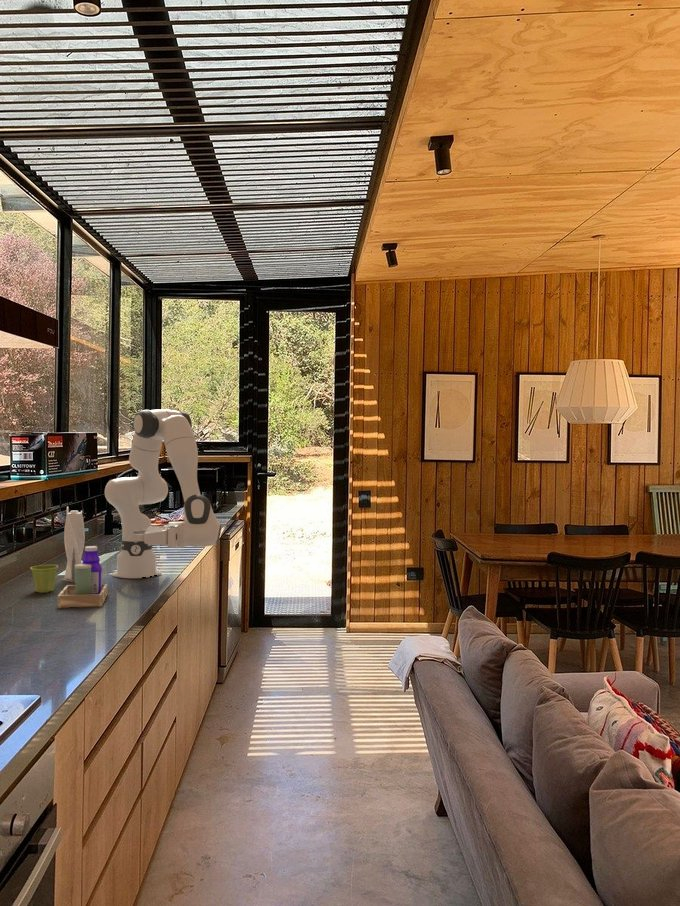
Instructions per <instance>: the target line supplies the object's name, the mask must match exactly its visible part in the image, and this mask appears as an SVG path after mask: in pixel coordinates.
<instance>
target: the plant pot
mask: <svg viewBox="0 0 680 906" xmlns="http://www.w3.org/2000/svg"><path fill="white" fill-rule="evenodd" d="M58 568H59V565H57V564H39V565H34V566H31V567H30V568H29V569H30V570H31V574H32V578H33V583H34V590H35V593H42V594H43V593H49V592H53V591H54V590H55V583H56V577H57V576H56V575H57V571H58Z"/></svg>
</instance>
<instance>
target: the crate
mask: <svg viewBox="0 0 680 906" xmlns="http://www.w3.org/2000/svg"><path fill="white" fill-rule="evenodd" d="M108 587H109V586H108V584H107V583H105V584H103V583H102V591H101V592H100V594H84V595H75V584H67V585H66V584H65V586H64V588H63V589H62V590H61V591H60V592H59V593H58V594H57V609H70V608H69V607H79V608H100V607H101V608H102V607H103V605H104V604H105V602H106V600H107V598H106V597H108V596H107V595H109V592H108V591H109V590H108ZM105 599H106V600H105ZM104 601H105V602H104ZM103 603H104V604H103Z"/></svg>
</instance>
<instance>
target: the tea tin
mask: <svg viewBox="0 0 680 906" xmlns="http://www.w3.org/2000/svg"><path fill="white" fill-rule="evenodd" d="M74 585H75V595H84V594H91V564H78V565H75V582H74Z"/></svg>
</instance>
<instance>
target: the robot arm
mask: <svg viewBox="0 0 680 906" xmlns="http://www.w3.org/2000/svg"><path fill="white" fill-rule="evenodd" d="M132 423H133V424H132V425H133V426H132V427H133V430H134V435H133V437H132V442H131V447H130V451H129V457H128V462H129V464H130V466H131V467H132V468H133V469H134V470H136V471H138V473H137V476H130V477H129V476H125V477H123V476H122V477H117V478H113V479H109V480H108V482H107V483H106V485H105V488H104V497H105V499H106V501H107V502H108V503H109V505H112V506H113V507H114V508H115V510H116V511H117V513H118V514H119V517H120V521H121V533H122V535H121V536H122V539H121V542H120V549H121V551H120V552H119V553H118V554H116V555H117V557H116V571H113V572H112V574H111V577H114V578H115V577H116V578H122V579H143V578H142V577H146V578H150V576H152V577H155V576H154V575H157V576H162V572H161V571H160V569H159V568H158V567H157V566H158V563H157V554H156V552H154V551H153V546H166V547H167V548H185V547H192V548H201V547H202V548H203V547H211V546H215V545H217V544H219V542H220V539H221V533H222V523H221V522H219V520H218V518H217V516H216V514H215V513H214V510H213V507H212V504H211V501H210V500H209V498H208V497H207V496H205V495H203V494H201V491H200V486H199V482H198V465H199V464H198V463H199V454H198V453H199V452H198V450H199V449H198V445H197V441H196V437H195V434H194V431H193V428H192V426H193V422H192V419H191V417H190V414H189V413H188V412H186V411H182V410H173V409H165V408H164V409H162V408H161V409H151V410H150V409H143V410H140V411H137V412H136V414H135V415H134V417H133V422H132ZM163 442H164V447H165V451H166V454H167V457H168V460H169V462H170V464H171V467H172V469H173V471H174V473H175V475H176V478H177V480H178V482H179V486H180V490H181V493H182V498H183V503H184V504H183V521H169V522H168V524H167V525H163V526H159V525H158V526H157V525H155V526H154V525H153V526H152V521H151V519H150V517H148V515H146V514H145V513H142V512H141V510H140V508H139V507H140V505H152V504H153V505H154V504H156V503H159V502H163V501H164V500H165V499H166V498H167V496H168V493H169V486H168V484H167V482H166V480H165V479H164V478H162V477H163V476H161V474H160V471H159V462H160V461H159V460H160V456H161V455H160V454H161V450H162V445H163Z"/></svg>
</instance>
